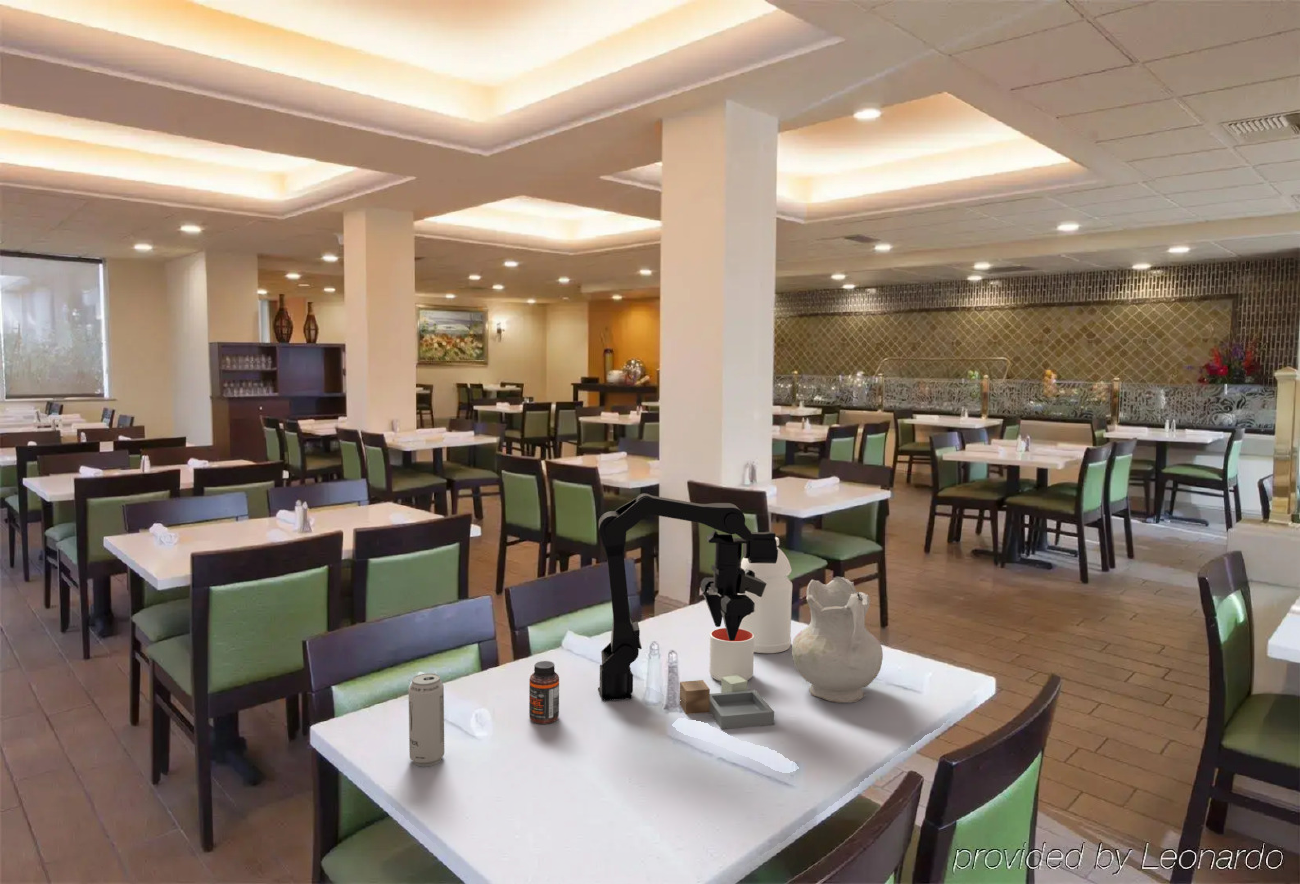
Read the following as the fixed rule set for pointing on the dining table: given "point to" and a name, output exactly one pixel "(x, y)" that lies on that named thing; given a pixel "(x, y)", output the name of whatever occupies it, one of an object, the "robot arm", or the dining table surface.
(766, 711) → the tray
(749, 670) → the cup
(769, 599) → the bottle
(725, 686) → the sage cube
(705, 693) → the walnut cube
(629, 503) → the robot arm
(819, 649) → the ceramic pitcher
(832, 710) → the dining table surface
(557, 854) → the dining table surface
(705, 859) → the dining table surface
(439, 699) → the energy drink can
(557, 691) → the supplement bottle
